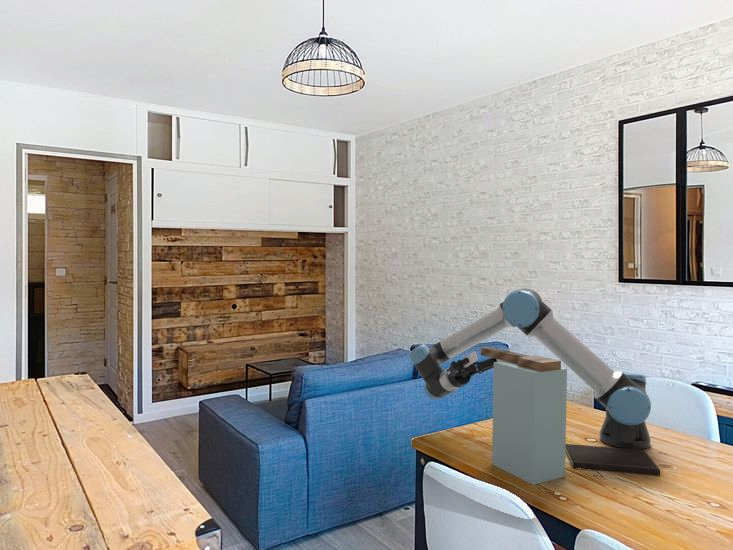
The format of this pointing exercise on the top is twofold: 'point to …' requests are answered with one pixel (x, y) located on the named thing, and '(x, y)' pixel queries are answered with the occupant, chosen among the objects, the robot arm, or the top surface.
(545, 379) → the stand
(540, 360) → the brown tapered block
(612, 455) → the hardcover book
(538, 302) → the robot arm
